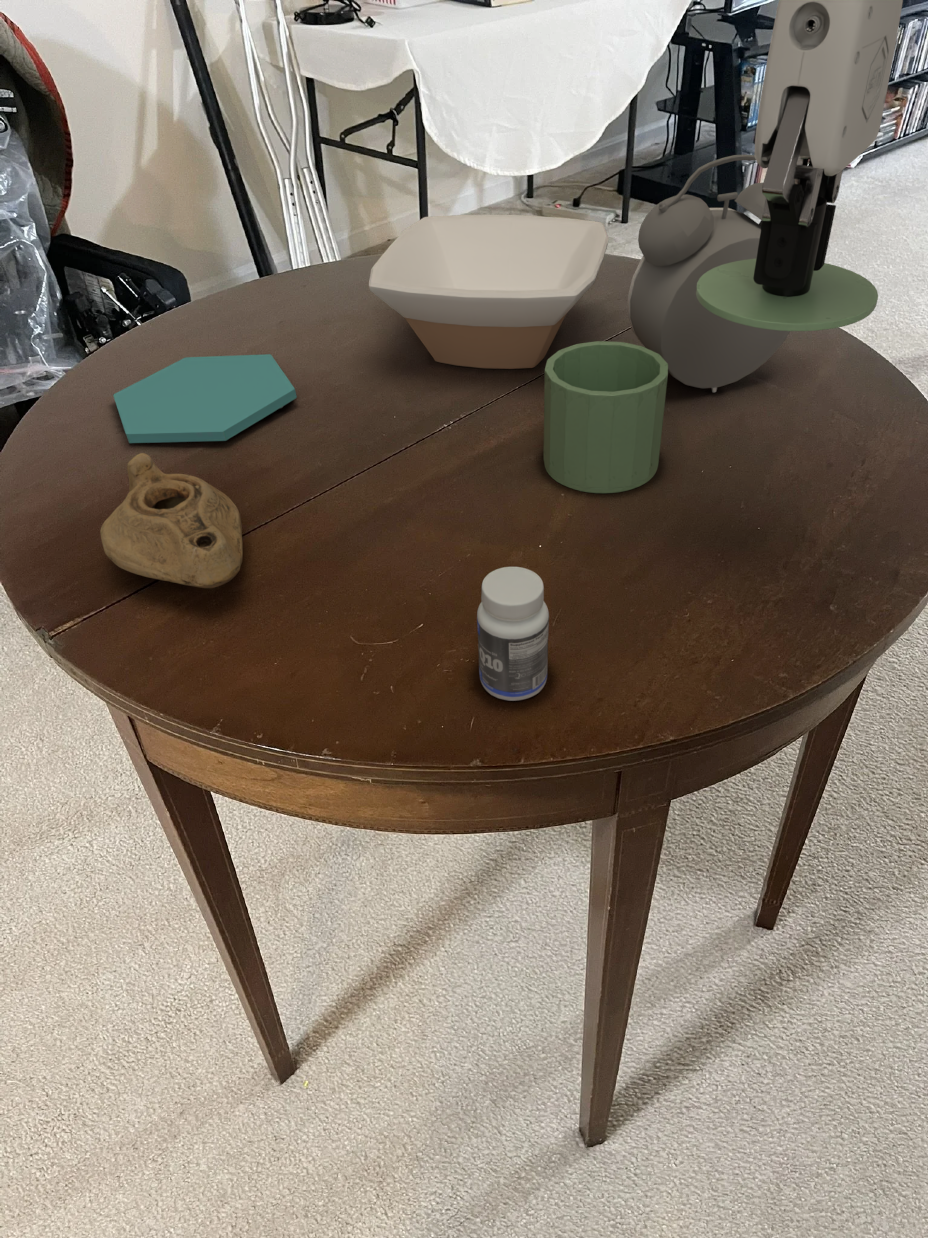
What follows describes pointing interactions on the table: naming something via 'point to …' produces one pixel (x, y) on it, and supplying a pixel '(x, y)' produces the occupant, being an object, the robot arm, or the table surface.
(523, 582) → the pill bottle
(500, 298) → the bowl
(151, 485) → the oil lamp
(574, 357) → the cup
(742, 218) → the alarm clock
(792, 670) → the table surface
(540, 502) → the table surface
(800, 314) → the tin lid
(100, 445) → the table surface
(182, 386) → the plaque
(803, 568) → the table surface
